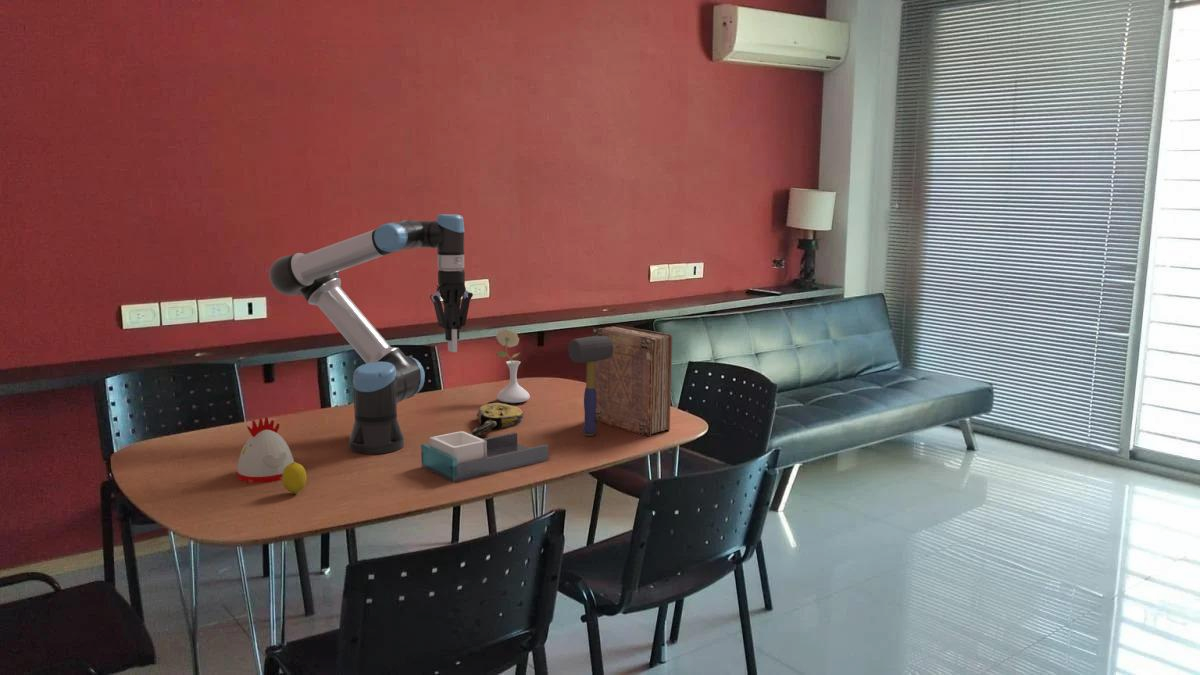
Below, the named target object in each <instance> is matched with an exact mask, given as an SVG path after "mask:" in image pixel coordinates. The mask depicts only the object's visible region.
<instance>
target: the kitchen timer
mask: <svg viewBox="0 0 1200 675" xmlns="http://www.w3.org/2000/svg"><path fill="white" fill-rule="evenodd" d="M274 422H275V421H274V419H271V421H270V423H269V418H268V417H267V416H265V417H264V423H263V418H261V417H260V418H259V419H258V425H257V423H256V421H255V420H254V419H252V422H251V424H252V426H248V425H246V428H247V430H248V432H249V434H250V437H249V438H248V439H247V440H246V442H245V444H244V445H243V447H242V449H241V451H240V454H239V458H238V461H237V470H236V473H237V479H238V480H239V479H240V481H241V482H244V481H245V483H249V482H254V483H253V484H256V483H255V482H267V483H273V482H272V481H274V482H278V481H277V480H279V481H282V480H281V479H282V476H283V471H284V469H285V468H286V466H288V465H289V464H291V463H292V462H295V461H294V460H295V459H294V457H293V454H292V450H291V448H290V447H289V445H288V443H287V442H286V441H285V439H284V438H283V436H281V435H280V434H278V431H279V428H280V423H276V425H275V424H274ZM274 425H275V427H274ZM251 427H252V428H251Z"/></svg>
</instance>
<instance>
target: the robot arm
mask: <svg viewBox="0 0 1200 675" xmlns="http://www.w3.org/2000/svg"><path fill="white" fill-rule="evenodd" d="M464 222H465V221H464V216H462V215H460V214H453V213H452V214H449V213H448V214H445V213H444V214H438V215H437V216H436V220H435V221H434V220H433V221H430V220H429V221H427V220H414V219H409V220H402V221H400V222H388V223H383V224H381V225H380V226H378V227H377V228H375V229H373V230H369V231H366V232H364V233H361V234H357V235H356V236H353V237H349V238H347V239H344V240H340V241H338V242H336V243H335V242H334V244H329V245H328V246H325V247H321V248H319V249H317V250H313V251H310V252H309V251H307V252H304V253H302V252H297V253H294V254H291V255H285V256H284V255H283V256H281V257H279V258H277V259H276V260H275V261H274V262H272V264H271V266H270V268H269V273H268V274H269V275H268V276H269V281H270V284H271V286H273V288H274V289H275V291H277V292H279V293H280V294H283V295H285V296H297V295H301V296H302V297H303V298H304V299H305V300H306V302H307V303H308V304H309V305H311V306H317V307H318V308H319V309H320V311H321V312H322V313H323V314H324V316H326V318H327V319H328V320H329V321H330V323H332V324H333V326H334V327H335V328H336V329H337V331H339V333H340V334H341V335H342V337H343V338H344V339H345V340H346V341H347V342H348V343H349V345H350V346H351V347H352V348H353V350H355V352H356V353H357V354H358V355H359V356H360V358H361V359H362V360H363V361H364V363H363V364H361V365H360V366H357V368H356V369H355V370H354V372H353V379H352V387H353V404H354V405H353V407H354V408H353V409H354V422H353V423H354V424H353V426H352V429H351V432H350V437H349V439H348V445H349V446H348V447H349V448H348V449H349V450H351V452H354V453H357V454H365V455H366V454H367V455H377V454H387V453H392V452H396V451H398V450H401V449H403V447H404V446H405V436H404V434H403V431H402V429H401V425H400V423H399V421H398V406H397V405H398V403H401V402H402V401H404V400H408V399H410V398H412V397H414V396H415V395H416V394H418V393H419V392H420V391H421V390H422V389H423V387H424V383H425V376H426V375H425V374H426V373H425V370H424V366H422V364H421V362H419V360H418V359H416V358H414V357H411V356H406V355H405V354H404V352H403V351H402V350H401V349H400V348H399V347H394V346H391V345H390V344H389V343H388V342H387V340H386V339H385V338H384V337H383V336H382V335H381V333H380V332H379V331H378V330H377V328H376V327H375V326H374V325H373V324H372V323H371V322H370V320H369V319H368V318H367V317H366V316H365V315H364V313H363V312H362V311H361V310H360V309H359V307H358V306H357V305H356V304H355V303H354V302H353V301H352V300H351V298H350V297H349V296H348V295H347V293H346V292H345V291H344V290H343V288H341V284H342V280H341V278H340V277H339V272H341V271H345V270H347V269H349V268H352V267H356V266H358V265H362V264H364V263H366V262H370V261H372V260H375V259H378V258H381V257H384V256H386V255H390V254H393V253H396V252H399V251H404V250H411V249H416V248H424V249H425V248H428V249H429V248H431V249H433V248H434V249H436V248H437V249H436V251H437V268H438V271H437V282H438V287H437V292H436V293H434V294H430V296H429V299H430V300H431V302H432V303H433V306H434V312H435V316H436V320H437V324H438V327H439V328H442V329H444V332H445V338H444V339H445V340H446V341H447V351H448V352H450V353H457V352H458V341H459V339H460V330H462V327H464V326H466V323H467V317H468V314H469V308H470V303H471V302H470V301H471V300H472V298H473V296H474V294H473V292H470V291H468V290H467V288H466V286H465V282H466V276H465V275H466V273H465V272H466V271H465V270H464V269H465V232H466V230H465V224H464ZM441 300H442V301H441Z"/></svg>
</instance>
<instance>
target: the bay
mask: <svg viewBox="0 0 1200 675" xmlns="http://www.w3.org/2000/svg"><path fill="white" fill-rule="evenodd" d="M482 439H483V440H485V441H487V457H486V458H482V459H477V460H473V461H468V462H464V463H459V464H457V458H455V457H453V456H451V455H449V454H447V453H444V452H442V451H440V450H438V449H436V448H434V447H432V446H430V444H427V443H422V444H420V446H421V447H420V449H421V450H420V453H421V454H420V455H421V457H420V458H421V460H420V461H421V468H423V469H425V470H427V471H429V472H430V473H433V474H434V475H437V476H439V477H441V478H443V479H445V480H447V481H449V482H450V483H453V482H454V483H458V482H462V481H466V480H471V479H475V478H478V477H484V476H487V474H488V475H491V473H492V474H496V473H499V471H500V472H504V470H505V471H508V470H513V469H517V468H520V467H521V468H522V467H525V465H526V466H529V465H533V464H538V463H542V462H545V461H549V444H545V443H544V444H541V445H537V446H532V447H528V446H525V445H523V444H519V443H518V432H515V431H514V432H510V433H504V434H501V435H500V434H499V435H496V436H490V437H485V438H482ZM457 481H458V482H457Z"/></svg>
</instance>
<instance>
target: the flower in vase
mask: <svg viewBox="0 0 1200 675" xmlns="http://www.w3.org/2000/svg"><path fill="white" fill-rule="evenodd" d="M518 336H519V335H518V333H516V332H515V331H512V329H507V328H505V329H504V328H503V329H501V330H498V331H497V332H496V336H495V339H497V342H498V344H500V345H502V346H503V347H504V346H505V352H504V351H503V350H500V351H498V352H497V353H496V355H495V356H497V357H501V358H505V357H508V359H509V360H508V361H507V360H506V361H505V363H506V365H507V366H508V369H509V370H508V371H509V382H508V384H507V385H506V386H505V387H504V388H502V389H501V390H500V391H499V392H498V393H497V394H496V398H497V400H498V401H500V402H502V403H506V404H508V403H510V404H517V403H518V404H519V403H522V402H526V401H528V400H529V399H531V398H530V397H531V396H530V393H529V392H528V391H527V390H526V389H525V388H523V387H522V386H521V385H519V383H518V379H517V375H518V368H519V366H520V364H521V361H519V360H513V359H514V358H516V357H518V356H519V355H520V354H521V352H518V353H515V354H513V355H512V356H511V357H510V356H509V353H508V351H507V348H512V347H513V348H514V347H515V346H518V345H519V341H520V337H518Z"/></svg>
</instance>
